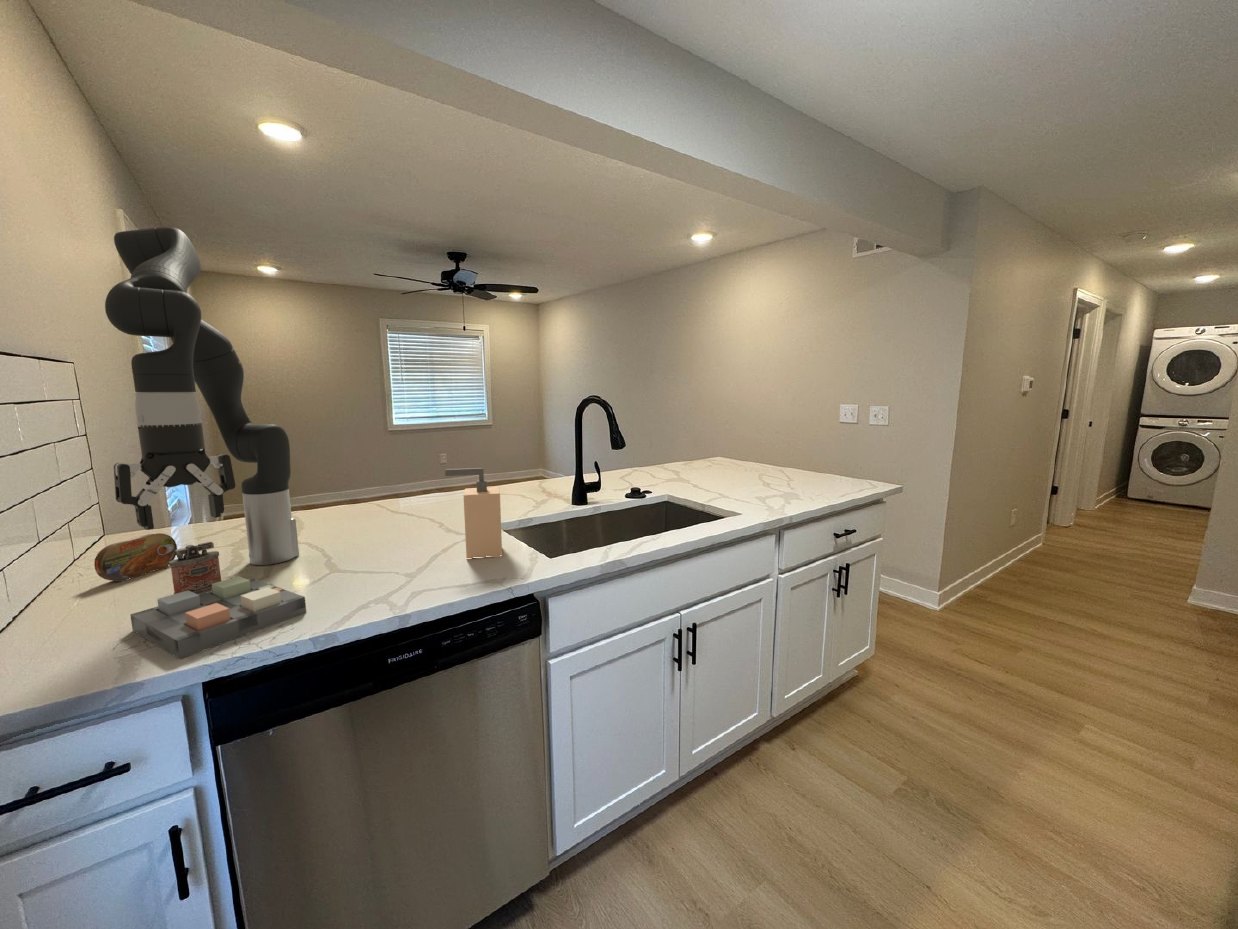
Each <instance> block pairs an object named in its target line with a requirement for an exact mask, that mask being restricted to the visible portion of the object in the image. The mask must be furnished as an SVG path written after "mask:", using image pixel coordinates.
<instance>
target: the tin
mask: <svg viewBox="0 0 1238 929" xmlns="http://www.w3.org/2000/svg"><path fill="white" fill-rule="evenodd" d="M177 549H178V546H177V542H176V540H175V539H174V538H173V536H171V535H169V534H166V533H161V532H160V533H151V534H150V533H149V534H145V535H141V536H139V537H135V538H130V539H126V540H122V541H119V542H116V543H112V544H109V545H107V546H104V547H103V548H102V549H101V550H99V552H98V553H97V554H96V556H95V558H94V561H93V562H94V564H93V566H94V569H95V573H96V574H97V575H98V576H99V577H100V578H102V579H103V580H107V581H112V582H115V581H116V582H124V581H123V580H126V579H129V578H132V577H135V578H137V577H141V576H143V575H142V574H144V575H146V574H145V573H147V574H149V573H148V572H150V571H153V570H156V571H159V570H162V569H164V568H166V567H168V566H169V562H170V561H172V560H175V558H176V557H177V555H176V551H175V550H177ZM161 568H162V569H161ZM153 572H154V571H153ZM150 573H151V572H150ZM140 575H141V576H140ZM132 579H133V578H132ZM129 580H130V579H129ZM126 581H127V580H126Z"/></svg>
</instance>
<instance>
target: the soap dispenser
mask: <svg viewBox="0 0 1238 929" xmlns="http://www.w3.org/2000/svg"><path fill="white" fill-rule="evenodd" d="M484 474H485V473H484V467H474V468H473V467H470V468H446V469H445V471H444V475H445V477H456V476H458V477H459V476H477V475H478V479H477V480H476V482H475V483H476V487H470V488H469V487H468V488H464V491H463V510H464V511H463V514H464V515H463V516H464V535H465V537H464V538H465V555H466V558H473V557H486V556H500V555H502V556H503V542H502V539H503V538H502V537H503V536H502V516H501V514H502V511H501V510H502V509H501V491H500V487H499V486H493V487H488V484H487V481H488V480H487V479H485V478H484V476H485V475H484Z"/></svg>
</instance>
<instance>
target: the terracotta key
mask: <svg viewBox="0 0 1238 929" xmlns="http://www.w3.org/2000/svg"><path fill="white" fill-rule="evenodd" d="M185 616H186V623H187V627H189V628H191V629H193V630H195V631H199V630H202V629H205V628H208V627H211V626H214V625H217V624H220V623H223V622H226V621H229V620H230V611H229V608H227V607H225V606H223V605H220V604H218V603H215V604H211V605H208V606H205V607H202V608H199V609H195V610H192V611H189V612H186V613H185Z"/></svg>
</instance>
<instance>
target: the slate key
mask: <svg viewBox="0 0 1238 929" xmlns="http://www.w3.org/2000/svg"><path fill="white" fill-rule="evenodd" d="M156 601H157V605H158V607H159V612H161V613H163V614H164V615H166V616H169V615H173V614H176V613H179V612H182V611H186V610H189V609H192V608H196V607H199V606H201V605H200V598H199V594H195V593H193V592H191V591H189V590H187V591H184V592H180V593H177V594H174V593H173V594H171V595H166V596H163V597H159V598H157V600H156Z"/></svg>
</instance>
